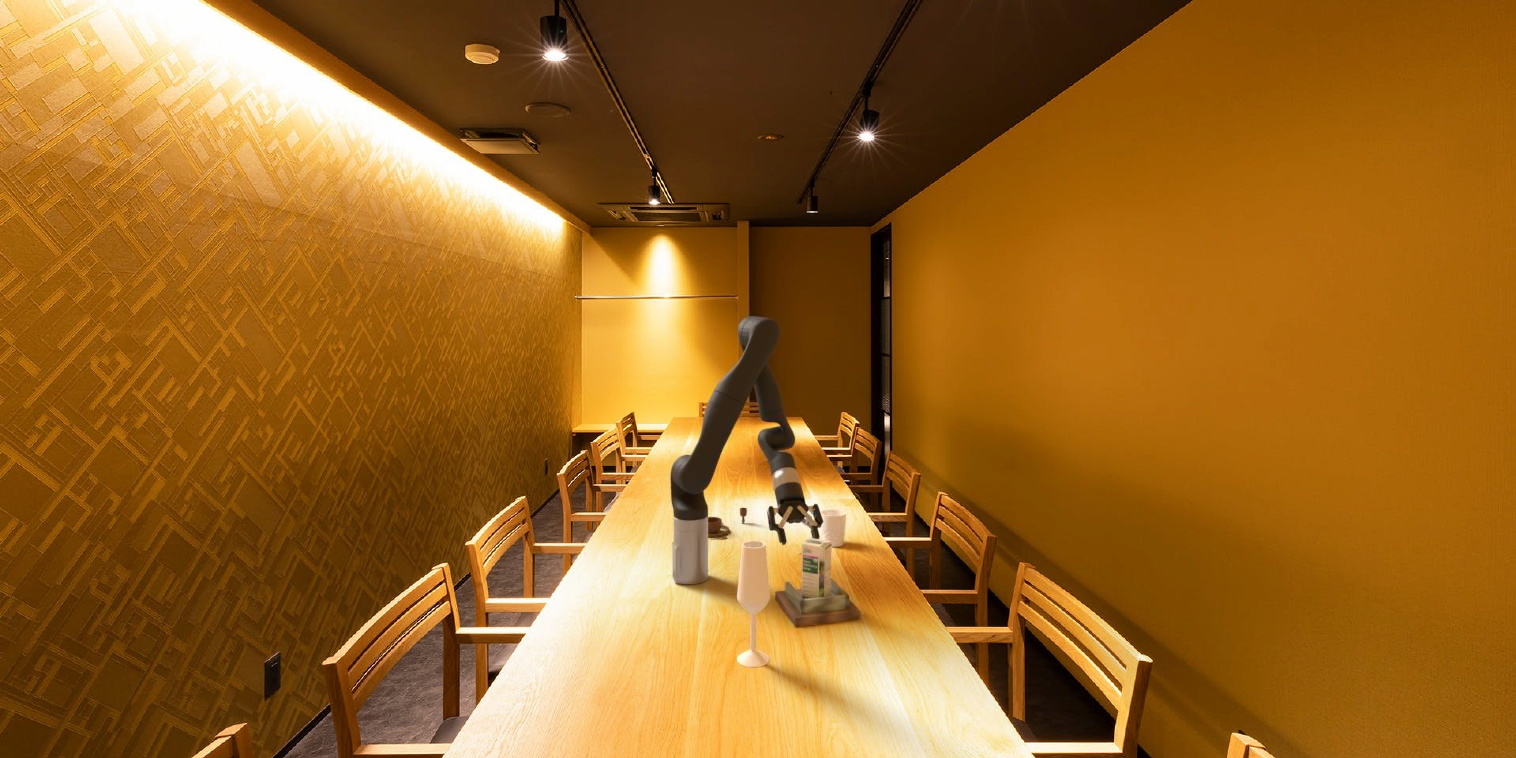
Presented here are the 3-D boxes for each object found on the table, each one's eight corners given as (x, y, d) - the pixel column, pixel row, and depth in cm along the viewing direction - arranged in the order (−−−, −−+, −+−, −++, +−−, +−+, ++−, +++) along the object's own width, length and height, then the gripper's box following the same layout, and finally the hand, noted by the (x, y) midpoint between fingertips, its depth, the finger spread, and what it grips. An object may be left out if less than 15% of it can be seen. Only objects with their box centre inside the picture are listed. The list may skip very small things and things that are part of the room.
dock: (795, 626, 153) (795, 605, 153) (775, 599, 168) (775, 579, 168) (860, 619, 157) (860, 598, 157) (835, 592, 173) (835, 573, 172)
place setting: (689, 527, 230) (689, 510, 230) (745, 523, 236) (745, 506, 235) (697, 543, 214) (697, 525, 213) (758, 538, 219) (759, 520, 218)
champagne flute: (768, 650, 142) (769, 539, 140) (770, 667, 135) (771, 549, 133) (736, 651, 141) (737, 539, 140) (736, 667, 135) (737, 549, 133)
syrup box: (800, 602, 161) (800, 543, 160) (809, 593, 167) (810, 536, 166) (822, 607, 159) (823, 546, 158) (831, 598, 164) (832, 539, 163)
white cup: (845, 540, 215) (845, 509, 215) (846, 548, 208) (846, 516, 207) (820, 539, 216) (820, 508, 215) (820, 547, 208) (820, 515, 208)
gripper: (765, 481, 179) (777, 537, 169) (816, 479, 182) (830, 533, 172) (759, 496, 184) (770, 551, 174) (809, 494, 188) (822, 547, 178)
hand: (800, 542), depth 173 cm, fingers open, 8 cm apart
